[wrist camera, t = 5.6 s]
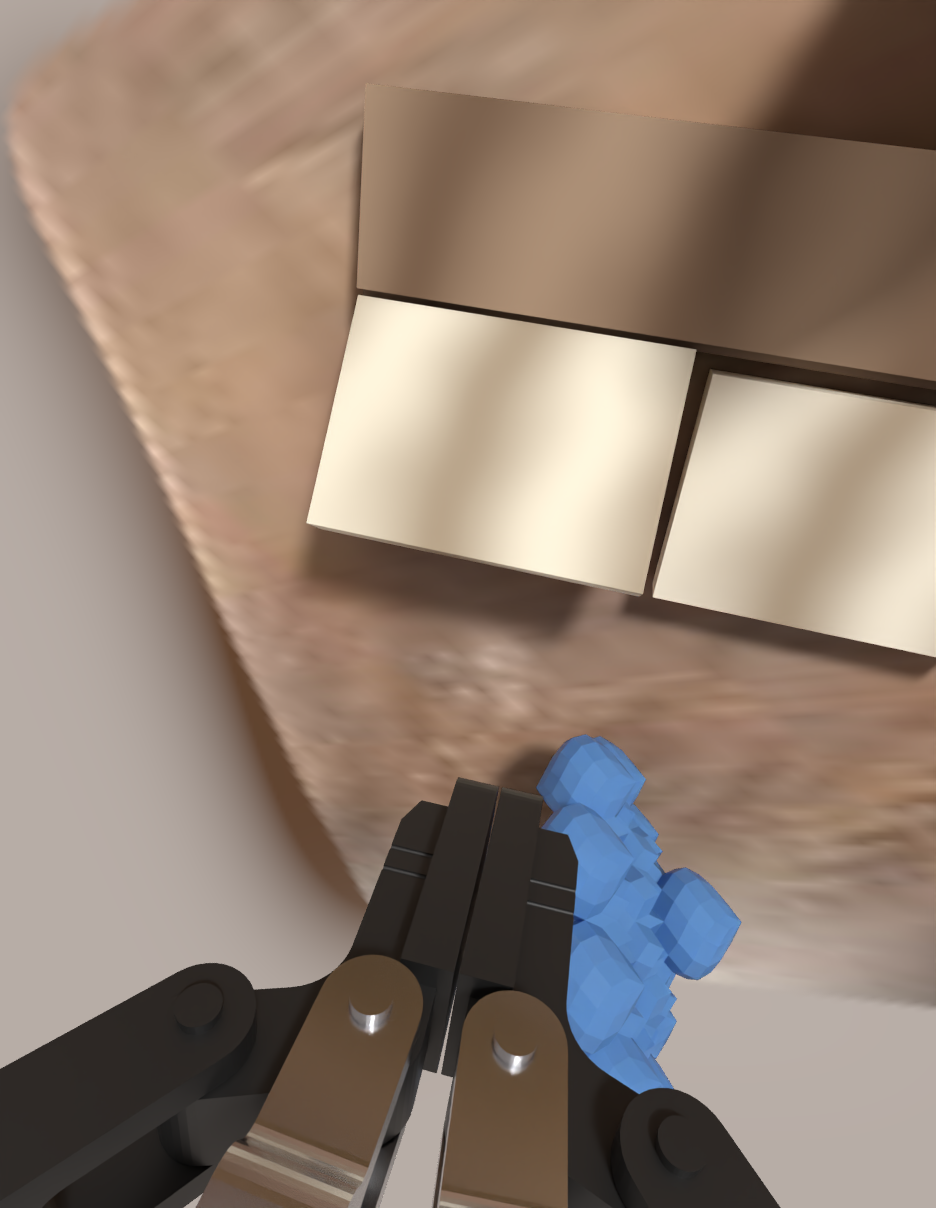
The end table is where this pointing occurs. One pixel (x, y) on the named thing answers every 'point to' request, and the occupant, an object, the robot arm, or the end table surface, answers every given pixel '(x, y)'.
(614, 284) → the laid plank
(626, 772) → the grapes
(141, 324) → the end table surface
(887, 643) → the plank
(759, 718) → the end table surface
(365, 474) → the plank
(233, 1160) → the robot arm
